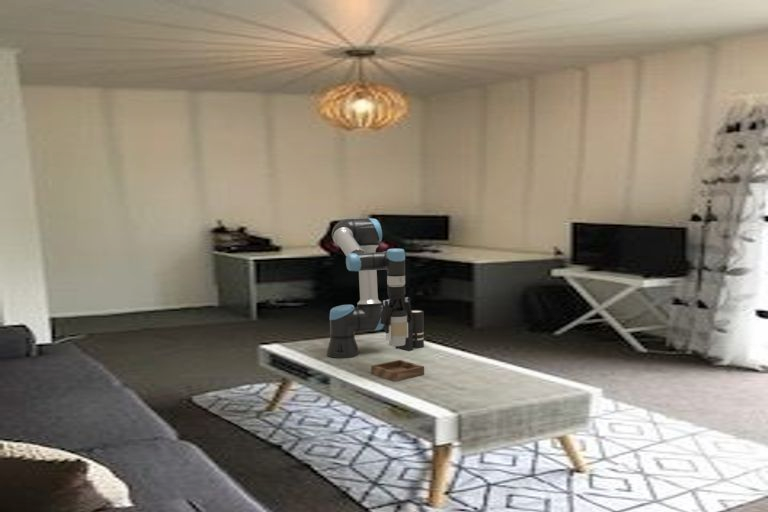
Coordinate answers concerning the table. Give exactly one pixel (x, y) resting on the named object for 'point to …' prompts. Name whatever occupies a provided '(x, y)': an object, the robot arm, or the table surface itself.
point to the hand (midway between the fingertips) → (397, 338)
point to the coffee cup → (398, 327)
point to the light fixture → (415, 332)
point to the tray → (397, 370)
